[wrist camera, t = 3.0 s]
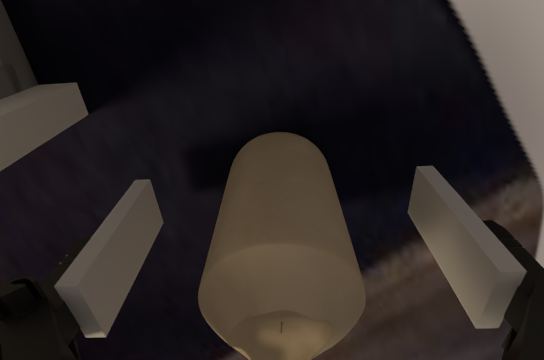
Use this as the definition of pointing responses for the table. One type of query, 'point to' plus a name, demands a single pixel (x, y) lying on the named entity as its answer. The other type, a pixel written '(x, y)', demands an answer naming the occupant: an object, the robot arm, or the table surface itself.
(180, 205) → the table surface
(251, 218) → the candle
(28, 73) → the tablet stand
